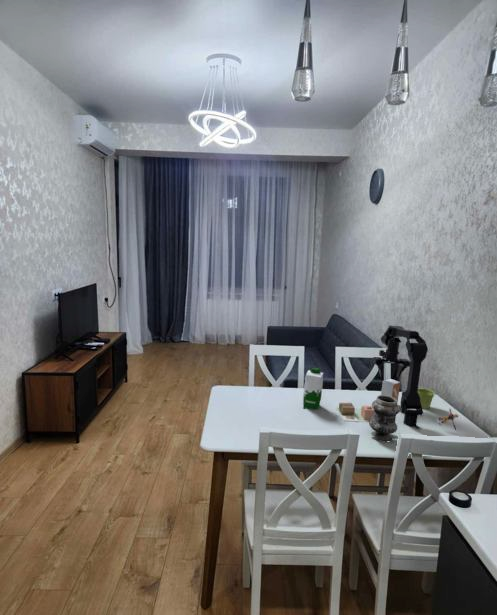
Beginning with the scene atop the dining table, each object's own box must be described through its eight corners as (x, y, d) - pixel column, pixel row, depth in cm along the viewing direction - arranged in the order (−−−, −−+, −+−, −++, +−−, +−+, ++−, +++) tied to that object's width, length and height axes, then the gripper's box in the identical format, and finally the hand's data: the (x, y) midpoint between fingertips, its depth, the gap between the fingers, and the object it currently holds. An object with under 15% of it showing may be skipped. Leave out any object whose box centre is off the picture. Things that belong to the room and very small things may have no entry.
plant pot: (429, 404, 229) (431, 389, 228) (435, 411, 220) (437, 395, 219) (412, 402, 230) (414, 387, 229) (417, 409, 221) (419, 393, 219)
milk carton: (321, 405, 216) (324, 368, 213) (318, 412, 207) (322, 373, 204) (304, 402, 218) (307, 365, 215) (301, 409, 210) (304, 370, 207)
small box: (390, 408, 219) (393, 384, 217) (379, 404, 224) (382, 381, 222) (397, 405, 225) (400, 381, 223) (386, 401, 229) (389, 378, 227)
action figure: (440, 433, 200) (458, 426, 200) (443, 436, 197) (462, 429, 198) (434, 411, 198) (452, 404, 198) (438, 413, 195) (456, 406, 195)
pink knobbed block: (374, 420, 201) (375, 409, 200) (364, 419, 200) (365, 408, 199) (370, 415, 206) (371, 405, 205) (360, 415, 205) (361, 404, 204)
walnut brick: (354, 415, 205) (354, 407, 204) (342, 415, 204) (342, 407, 203) (350, 410, 210) (351, 403, 210) (338, 410, 210) (339, 402, 209)
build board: (377, 424, 198) (377, 421, 198) (344, 422, 197) (344, 420, 197) (365, 410, 214) (365, 408, 214) (334, 409, 213) (335, 406, 213)
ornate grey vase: (395, 446, 178) (400, 406, 175) (366, 439, 182) (371, 400, 179) (396, 434, 189) (401, 396, 186) (368, 428, 193) (373, 391, 190)
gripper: (403, 346, 231) (400, 373, 233) (370, 344, 230) (367, 371, 232) (412, 351, 220) (408, 380, 222) (377, 349, 219) (374, 378, 221)
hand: (389, 377), depth 225 cm, fingers open, 9 cm apart
